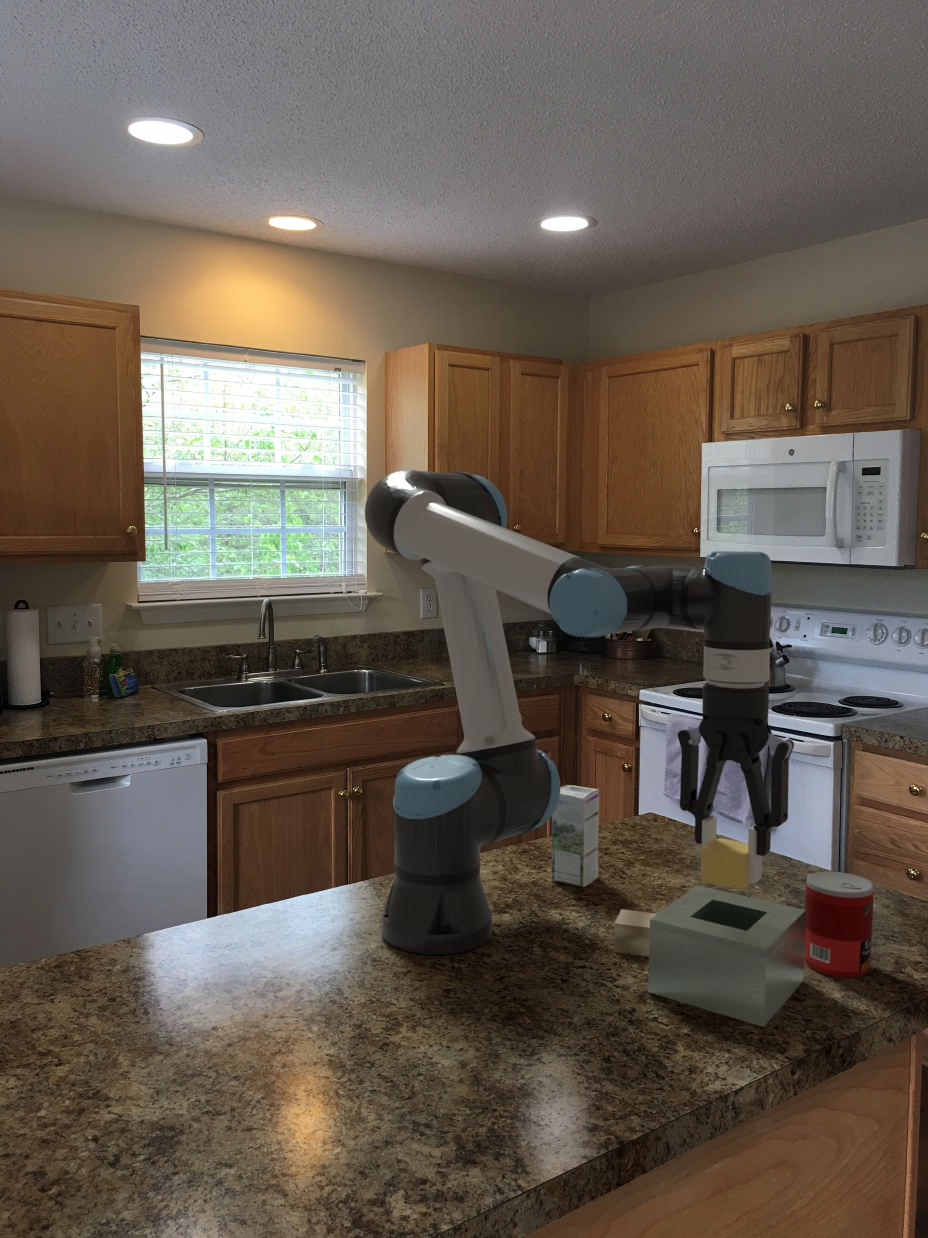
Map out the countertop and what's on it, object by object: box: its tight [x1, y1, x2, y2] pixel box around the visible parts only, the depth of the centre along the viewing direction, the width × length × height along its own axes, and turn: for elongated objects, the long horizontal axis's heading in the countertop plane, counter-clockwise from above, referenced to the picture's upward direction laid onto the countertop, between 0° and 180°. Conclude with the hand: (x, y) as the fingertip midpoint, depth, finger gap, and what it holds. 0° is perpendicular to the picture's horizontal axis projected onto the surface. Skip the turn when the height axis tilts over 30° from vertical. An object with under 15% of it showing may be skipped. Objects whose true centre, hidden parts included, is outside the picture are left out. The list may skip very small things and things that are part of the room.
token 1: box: [613, 908, 658, 958], centre depth 132 cm, size 5×5×4 cm
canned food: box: [804, 871, 875, 979], centre depth 127 cm, size 8×8×11 cm
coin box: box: [647, 885, 806, 1028], centre depth 121 cm, size 14×14×9 cm
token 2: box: [701, 837, 751, 890], centre depth 119 cm, size 5×5×4 cm
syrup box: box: [551, 784, 600, 888], centre depth 157 cm, size 6×6×14 cm
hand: (731, 875), depth 120 cm, fingers closed on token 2, 5 cm apart
